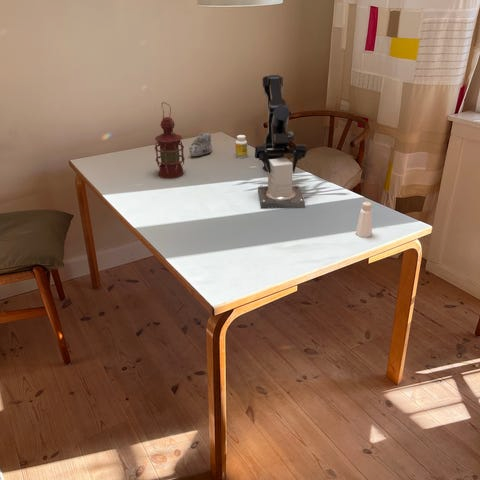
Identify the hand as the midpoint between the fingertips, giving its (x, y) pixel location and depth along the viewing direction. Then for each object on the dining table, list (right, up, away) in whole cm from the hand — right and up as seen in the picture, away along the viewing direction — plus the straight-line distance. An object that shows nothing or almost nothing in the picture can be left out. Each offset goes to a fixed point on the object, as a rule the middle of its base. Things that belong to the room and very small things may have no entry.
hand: (281, 172), depth 190 cm
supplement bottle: (-14, +14, +51) cm, 54 cm away
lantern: (-44, +3, +31) cm, 54 cm away
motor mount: (0, -9, +6) cm, 11 cm away
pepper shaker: (+25, -23, -19) cm, 39 cm away
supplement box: (0, -7, +6) cm, 9 cm away
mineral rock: (-34, +16, +54) cm, 66 cm away
